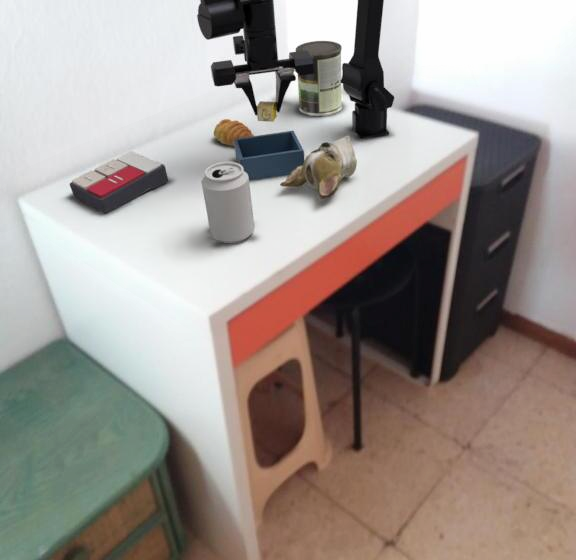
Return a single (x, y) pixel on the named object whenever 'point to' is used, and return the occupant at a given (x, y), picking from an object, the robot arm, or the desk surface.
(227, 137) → the pastry
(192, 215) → the desk surface
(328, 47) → the coffee can
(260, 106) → the alphabet block
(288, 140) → the blue open box
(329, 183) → the ceramic sculpture
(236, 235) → the can
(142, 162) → the multicoloured piece
